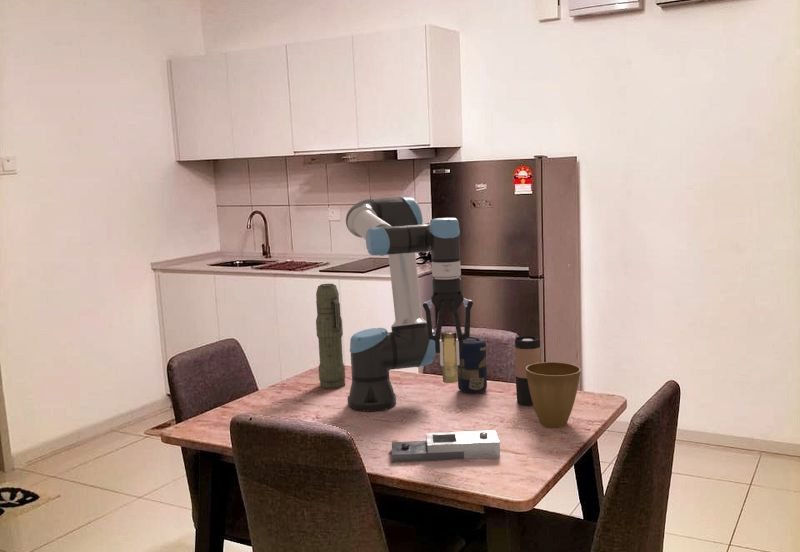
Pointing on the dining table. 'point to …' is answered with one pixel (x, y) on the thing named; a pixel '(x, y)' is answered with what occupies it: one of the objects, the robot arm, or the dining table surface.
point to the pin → (449, 357)
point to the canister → (472, 366)
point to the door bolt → (448, 447)
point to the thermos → (329, 337)
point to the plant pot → (553, 391)
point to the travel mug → (525, 365)
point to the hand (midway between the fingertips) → (449, 364)
